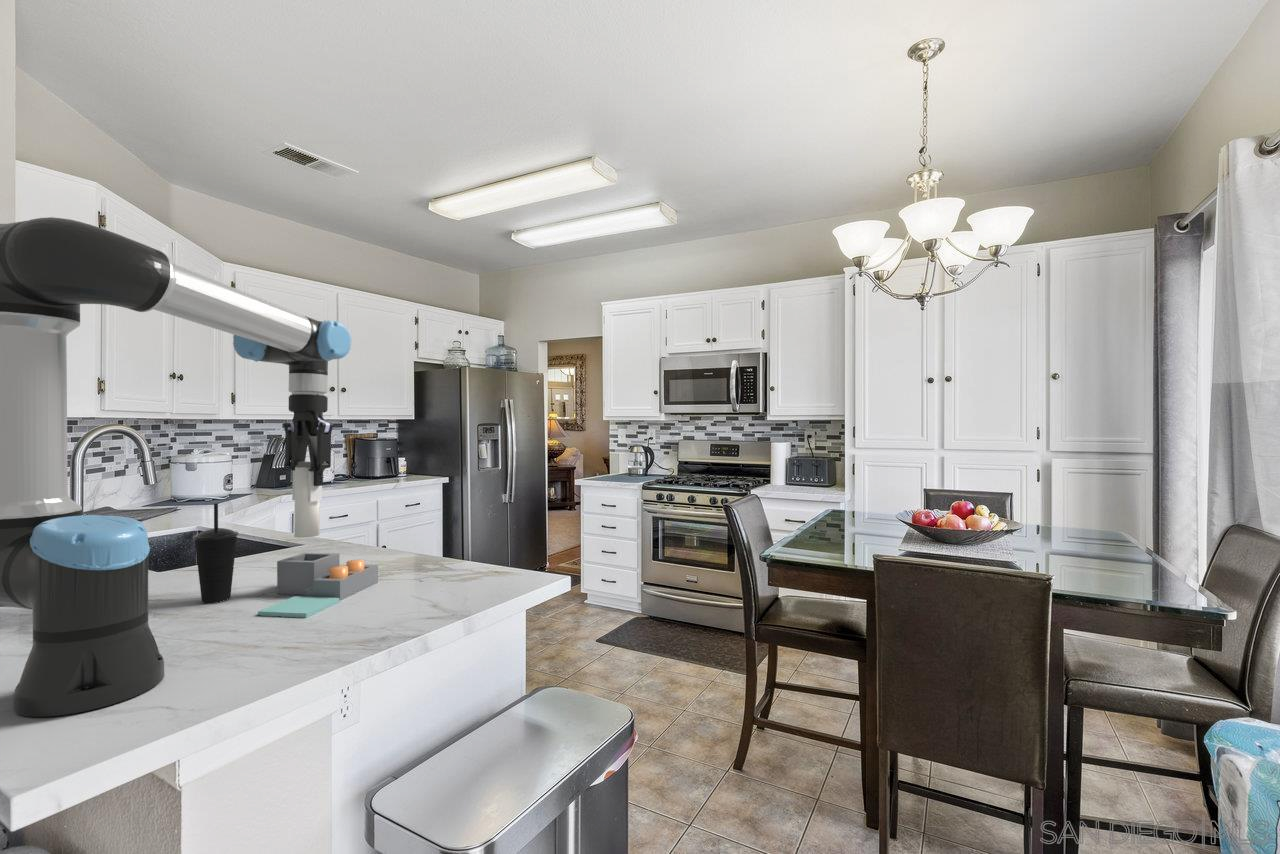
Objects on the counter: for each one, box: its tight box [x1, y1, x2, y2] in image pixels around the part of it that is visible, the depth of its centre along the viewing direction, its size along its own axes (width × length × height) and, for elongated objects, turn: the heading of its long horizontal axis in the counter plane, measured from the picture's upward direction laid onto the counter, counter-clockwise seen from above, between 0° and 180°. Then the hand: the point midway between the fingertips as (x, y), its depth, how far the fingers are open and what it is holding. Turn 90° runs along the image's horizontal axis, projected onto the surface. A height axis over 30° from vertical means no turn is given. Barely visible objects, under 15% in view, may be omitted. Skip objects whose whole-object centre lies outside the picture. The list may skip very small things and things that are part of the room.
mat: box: [257, 595, 340, 619], centre depth 118 cm, size 10×10×1 cm
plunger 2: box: [345, 559, 365, 572], centre depth 134 cm, size 4×4×5 cm
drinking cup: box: [192, 502, 239, 604], centre depth 123 cm, size 8×8×20 cm
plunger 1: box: [329, 565, 348, 579], centre depth 128 cm, size 4×4×5 cm
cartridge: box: [293, 460, 321, 539], centre depth 131 cm, size 5×5×16 cm
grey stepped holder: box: [276, 552, 379, 601], centre depth 131 cm, size 14×16×7 cm
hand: (307, 500), depth 131 cm, fingers closed on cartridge, 5 cm apart
